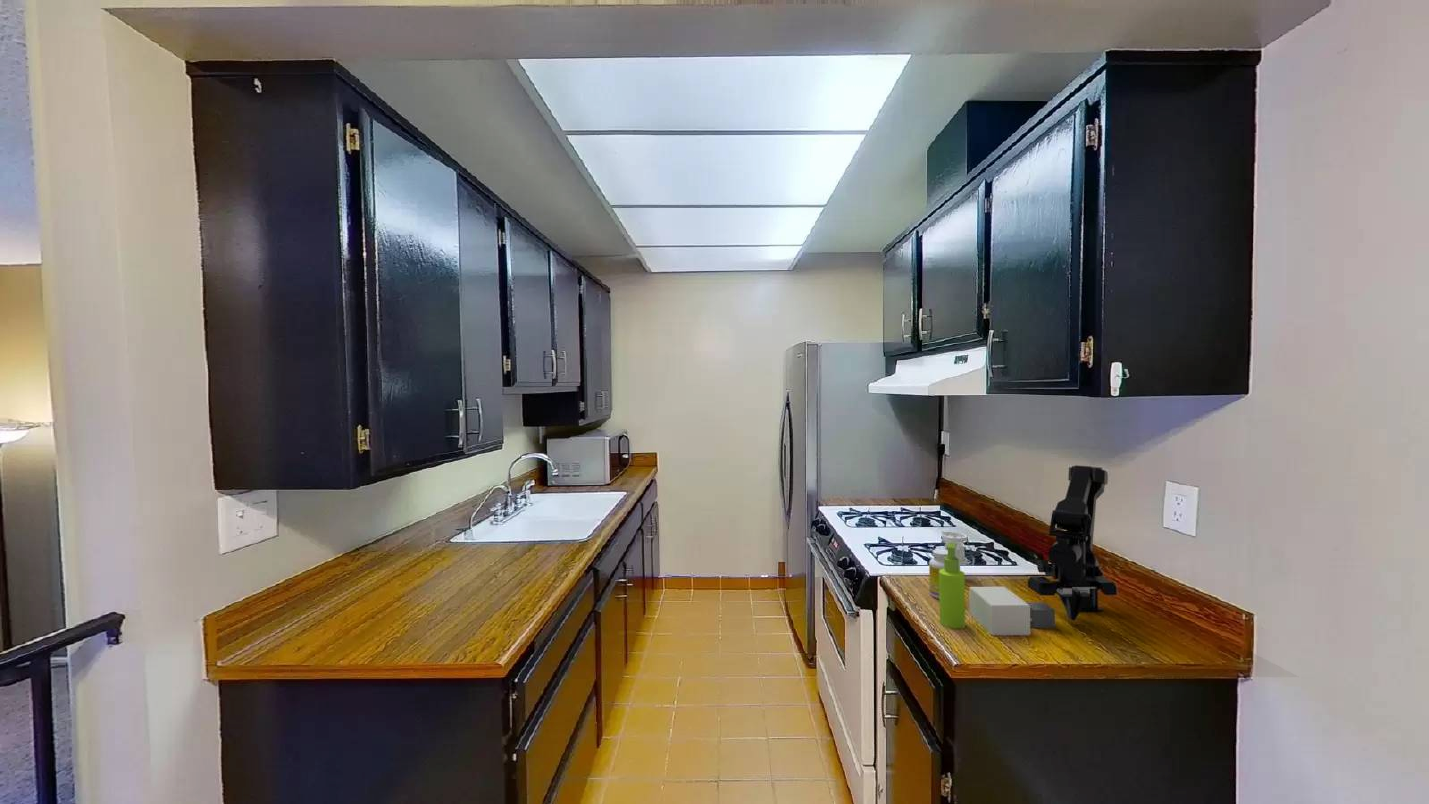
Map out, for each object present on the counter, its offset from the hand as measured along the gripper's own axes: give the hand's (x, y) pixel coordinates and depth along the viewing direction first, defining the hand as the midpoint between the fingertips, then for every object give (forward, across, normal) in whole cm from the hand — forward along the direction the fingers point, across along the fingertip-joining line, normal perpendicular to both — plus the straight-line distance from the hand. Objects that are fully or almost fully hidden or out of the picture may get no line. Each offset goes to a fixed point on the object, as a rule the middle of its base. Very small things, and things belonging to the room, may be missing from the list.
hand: (1071, 619), depth 130 cm
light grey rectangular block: (+1, +18, 0) cm, 18 cm away
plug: (+1, +8, 0) cm, 8 cm away
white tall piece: (+1, +16, -31) cm, 35 cm away
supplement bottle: (+1, +25, -18) cm, 31 cm away
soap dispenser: (+1, +29, -1) cm, 29 cm away
